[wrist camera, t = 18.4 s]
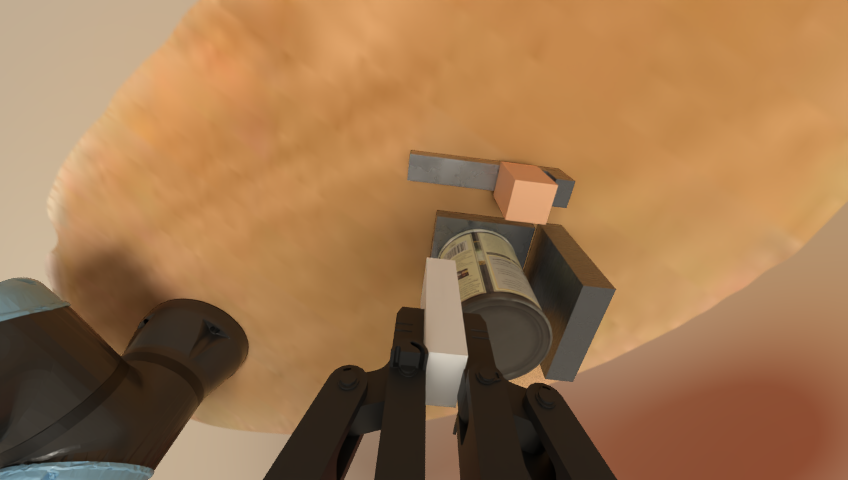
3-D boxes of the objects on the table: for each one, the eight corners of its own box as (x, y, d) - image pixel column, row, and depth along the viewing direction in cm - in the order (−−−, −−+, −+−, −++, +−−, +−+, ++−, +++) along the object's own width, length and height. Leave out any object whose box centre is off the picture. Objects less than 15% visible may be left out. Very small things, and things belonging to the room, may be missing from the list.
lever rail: (408, 175, 40) (405, 188, 35) (411, 149, 38) (408, 160, 34) (551, 192, 40) (566, 208, 36) (559, 168, 39) (575, 181, 35)
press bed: (425, 288, 47) (423, 366, 35) (437, 210, 42) (439, 269, 29) (535, 300, 48) (572, 381, 35) (561, 225, 42) (615, 289, 30)
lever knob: (493, 195, 38) (505, 219, 32) (500, 161, 37) (515, 179, 30) (527, 199, 39) (545, 224, 32) (536, 165, 37) (558, 185, 30)
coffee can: (493, 306, 46) (516, 395, 33) (424, 281, 44) (421, 364, 32) (532, 245, 42) (576, 321, 29) (457, 215, 40) (470, 281, 27)
